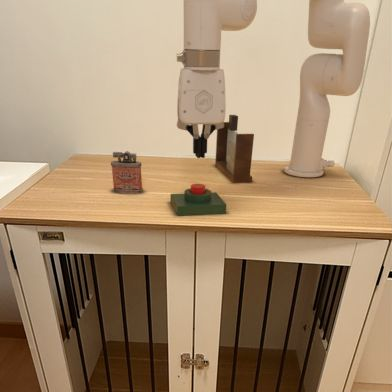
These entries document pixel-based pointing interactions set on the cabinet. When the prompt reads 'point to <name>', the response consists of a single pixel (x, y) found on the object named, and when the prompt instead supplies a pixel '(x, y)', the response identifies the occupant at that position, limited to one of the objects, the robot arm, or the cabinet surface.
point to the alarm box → (197, 203)
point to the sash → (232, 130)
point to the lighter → (126, 173)
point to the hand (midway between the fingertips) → (199, 156)
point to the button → (198, 188)
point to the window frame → (234, 155)
